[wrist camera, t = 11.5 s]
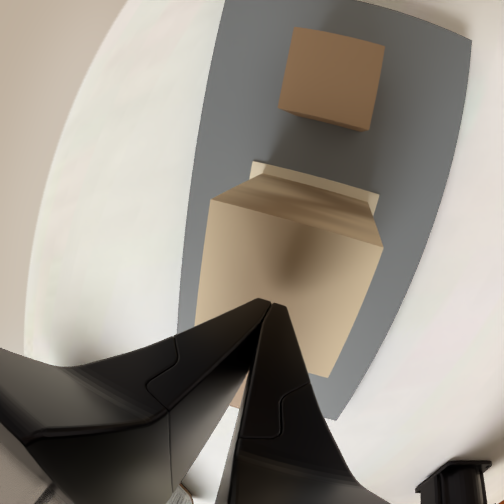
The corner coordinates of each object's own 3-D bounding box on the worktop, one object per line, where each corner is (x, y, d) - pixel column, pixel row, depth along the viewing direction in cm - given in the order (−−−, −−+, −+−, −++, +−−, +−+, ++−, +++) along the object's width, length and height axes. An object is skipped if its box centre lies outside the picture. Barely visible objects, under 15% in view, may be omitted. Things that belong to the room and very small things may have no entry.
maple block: (367, 202, 13) (383, 247, 8) (336, 296, 15) (327, 378, 10) (262, 173, 14) (210, 199, 9) (243, 268, 16) (193, 334, 11)
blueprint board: (463, 46, 10) (507, 16, 5) (337, 408, 20) (329, 466, 15) (236, -5, 12) (194, -48, 7) (182, 358, 22) (148, 405, 17)
